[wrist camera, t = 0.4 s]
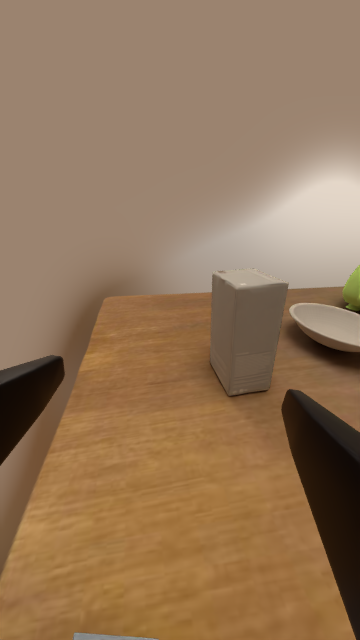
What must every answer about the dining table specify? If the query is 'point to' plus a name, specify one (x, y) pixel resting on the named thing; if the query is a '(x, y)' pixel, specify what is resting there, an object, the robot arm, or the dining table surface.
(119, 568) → the dining table surface
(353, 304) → the teapot
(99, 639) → the mat
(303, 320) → the dish
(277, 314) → the cosmetic box
